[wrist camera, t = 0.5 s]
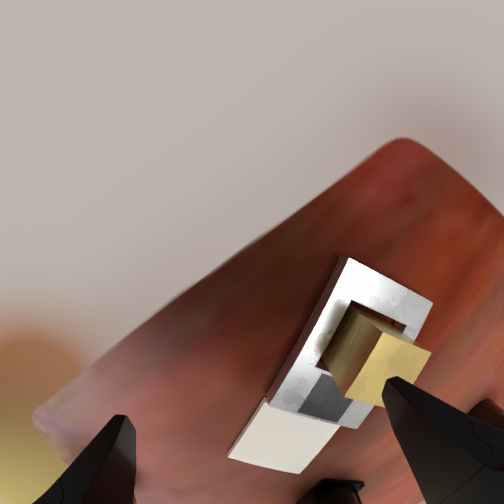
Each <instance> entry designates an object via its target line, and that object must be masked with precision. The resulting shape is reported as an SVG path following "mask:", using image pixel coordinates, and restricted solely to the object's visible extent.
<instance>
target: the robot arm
mask: <svg viewBox="0 0 504 504" xmlns="http://www.w3.org/2000/svg"><path fill="white" fill-rule="evenodd" d="M382 400H383V403H384V406H385V409H386V411H387V414H388V417H389V420H390V423H391V426H392V429H393V431H394V434H395V436H396V438H397V440H398V442H399V444H400V446H401V448H402V450H403V453H404V455H405V457H406V459H407V461H408V463H409V465H410V468H411V470H412V472H413V474H414V476H415V479H416V481H417V483H418V485H419V488H420V490H421V492H422V494H423V497H424V499H425V501H426V504H504V431H503V430H500V429H497V428H495V427H492V426H490V425H487V424H485V423H483V422H481V421H479V420H477V419H475V418H473V417H470V416H469V415H468V414H466V413H464V412H462V411H460V410H458V409H456V408H454V407H453V406H451V405H449V404H447V403H445V402H443V401H442V400H440V399H438V398H436V397H434V396H432V395H431V394H429V393H427V392H425V391H424V390H422V389H420V388H418V387H416V386H415V385H413V384H411V383H409V382H408V381H406V380H404V379H402V378H401V377H399V376H394V377H391V378H388V379H387V380H386V382H385V385H384V388H383V391H382ZM135 476H136V430H135V428H134V426H133V424H132V423H131V421H130V420H129V418H128V417H127V416H126V415H118V414H117V415H114V416H113V417H112V418H111V420H110V421H109V422H108V423H107V424H106V425H105V426H104V428H103V429H102V430H101V431H100V432H99V433H98V434H97V435H96V437H95V438H94V439H93V440H92V441H91V442H90V443H89V444H88V446H87V447H86V448H85V449H84V450H83V451H82V452H81V454H80V455H79V456H78V457H77V458H76V459H75V460H74V461H73V463H72V464H71V465H70V466H69V467H68V468H67V469H66V470H65V472H64V473H63V474H62V475H61V477H60V478H58V479H57V480H56V482H55V483H54V484H53V485H52V486H51V487H50V488H49V489H48V490H47V491H46V492H45V493H44V494H43V495H42V496H41V497H39V498H38V499H37V500H36V501H35V502H34V503H32V504H133V499H134V487H135ZM364 486H365V484H364V482H353V481H341V480H331V479H324V480H322V481H320V482H319V483H318V484H317V485H316V486H315V487H314V488H313V489H312V490H311V491H310V492H309V493H308V494H307V495H306V496H305V497H304V498H302V499H301V500H300V501H299V502H298V503H297V504H362V502H361V500H360V497H359V495H358V492H359V491H360V490H361V489H362V488H363V487H364Z"/></svg>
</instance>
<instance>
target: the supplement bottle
mask: <svg viewBox="0 0 504 504" xmlns="http://www.w3.org/2000/svg"><path fill="white" fill-rule="evenodd" d="M469 416H470V417H473V418H475V419H477V420H479V421H481V422H483V423H485V424H487V425H490V426H492V427H495V428H497V429H500V430H503V431H504V410H503V409H502V408H501V407H499V406H498V405H497V404H495V403H494V402H493V401H491V400H487V401H484V402H482V403H480V404H479V405H477V406H476V407H475V408H474V409H473V410H472V411H471V412H470V413H469Z"/></svg>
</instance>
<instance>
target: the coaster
mask: <svg viewBox="0 0 504 504" xmlns="http://www.w3.org/2000/svg"><path fill="white" fill-rule="evenodd" d="M339 427H340V425H336V424H331V423H327V422H323V421H319V420H315V419H311V418H308V417H304V416H300V415H297V414H293V413H290V412H287V411H283V410H280V409H277V408H274V407H271V406H268V398H266V397H264V398H263V400H262V401H261V403H260V405H259V406H258V408H257V409H256V411H255V413H254V414H253V416H252V417H251V419H250V420H249V422H248V423H247V425H246V426H245V428H244V429H243V431H242V432H241V434H240V435H239V437H238V438H237V440H236V441H235V443H234V444H233V446H232V447H231V448H230V450H229V451H228V457H229V458H232V459H236V460H239V461H243V462H246V463H250V464H254V465H258V466H262V467H266V468H270V469H275V470H279V471H284V472H290V473H295V474H300V473H301V472H302V471H303V470H304V468H305V467H306V466H307V465H308V464H309V463H310V462H311V461H312V460H313V458H314V457H315V456H316V455H317V454H318V453H319V452H320V450H321V449H322V448H323V447H324V446H325V444H326V443H327V442H328V441H329V440H330V438H331V437H332V436H333V435H334V433H335V432H336V431H337V429H338V428H339Z"/></svg>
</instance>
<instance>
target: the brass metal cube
mask: <svg viewBox="0 0 504 504" xmlns="http://www.w3.org/2000/svg"><path fill="white" fill-rule="evenodd" d="M430 354H431V352H430V351H428V350H427V349H426V348H424V347H423V346H421V345H420V344H418V343H417V342H415V341H414V340H413V339H411V338H410V337H408V336H407V335H405V334H404V333H402V332H401V331H400V330H398V329H397V328H395V327H394V326H392V325H391V324H389V323H388V322H386V321H384V320H381V319H379V318H377V317H375V316H373V315H370V314H368V313H366V312H364V311H362V310H359V309H357V308H355V307H353V306H351V305H349V306H348V307H347V309H346V311H345V313H344V315H343V317H342V319H341V321H340V323H339V325H338V326H337V328H336V330H335V332H334V334H333V336H332V337H331V339H330V341H329V343H328V345H327V346H326V348H325V350H324V352H323V353H322V355H321V357H322V359H323V361H324V362H325V364H326V366H327V368H328V369H329V371H330V373H331V375H332V377H333V378H334V380H335V382H336V384H337V385H338V387H339V389H340V391H341V393H342V394H343V396H344V397H346V398H350V399H353V400H357V401H361V402H365V403H369V404H372V405H377V406H381V407H385V406H384V403H383V400H382V391H383V388H384V385H385V382H386V380H387V379H388V378H391V377H394V376H399V377H401V378H402V379H404V380H406V381H408V382H409V383H411V384H413V383H414V381H415V380H416V378H417V377H418V375H419V373H420V372H421V370H422V368H423V367H424V365H425V363H426V362H427V360H428V358H429V356H430Z"/></svg>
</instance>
